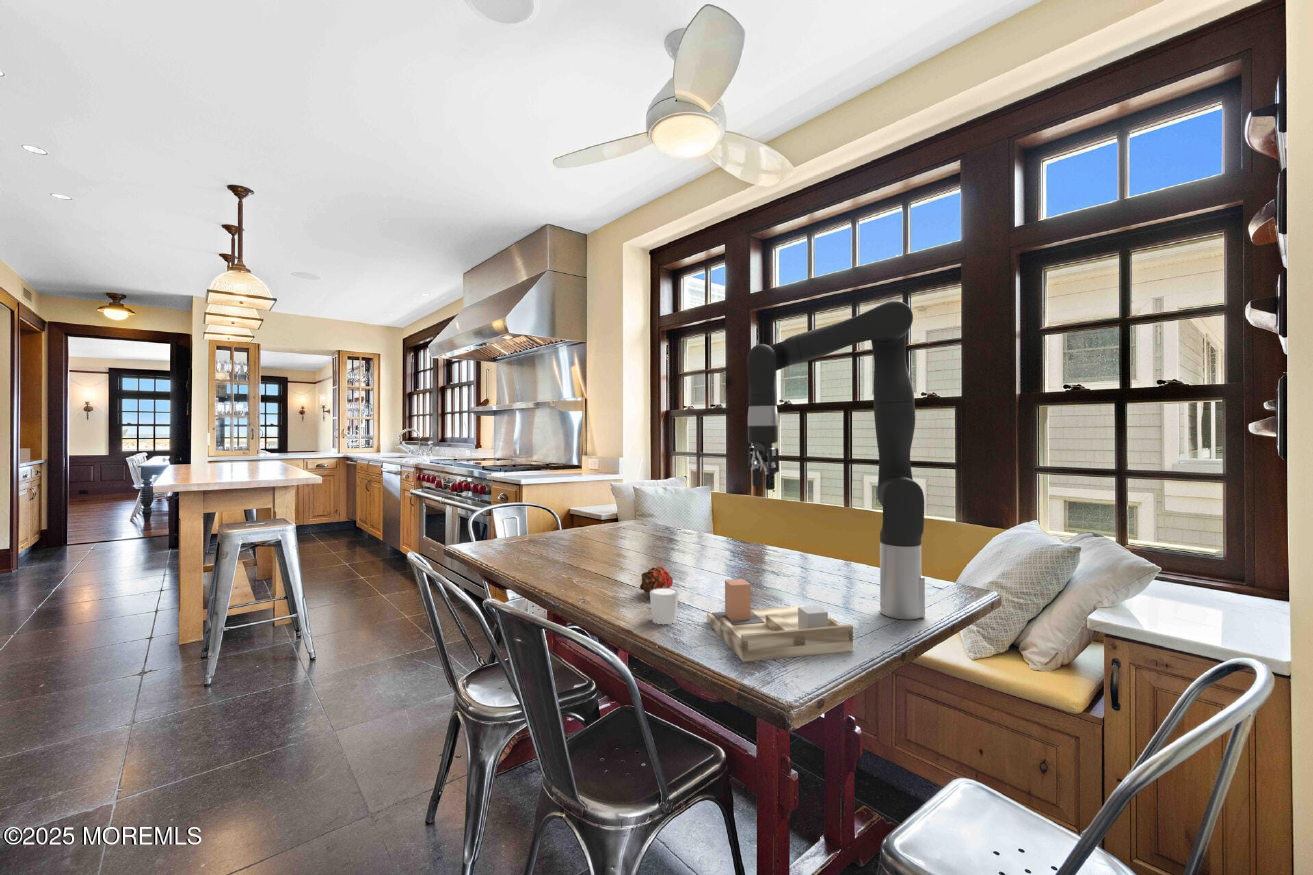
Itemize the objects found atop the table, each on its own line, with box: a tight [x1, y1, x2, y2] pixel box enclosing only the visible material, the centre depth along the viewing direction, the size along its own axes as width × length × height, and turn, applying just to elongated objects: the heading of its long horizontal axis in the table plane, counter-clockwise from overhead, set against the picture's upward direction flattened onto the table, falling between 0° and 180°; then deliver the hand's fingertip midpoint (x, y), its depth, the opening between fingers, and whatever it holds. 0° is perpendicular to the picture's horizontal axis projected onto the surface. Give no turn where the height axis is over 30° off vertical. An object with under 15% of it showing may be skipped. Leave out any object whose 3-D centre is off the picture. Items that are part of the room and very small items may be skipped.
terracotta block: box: [724, 578, 752, 621], centre depth 132 cm, size 4×4×8 cm
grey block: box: [798, 605, 829, 629], centre depth 122 cm, size 4×4×5 cm
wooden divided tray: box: [706, 605, 854, 663], centre depth 126 cm, size 24×24×5 cm
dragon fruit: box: [639, 565, 673, 596], centre depth 158 cm, size 8×8×12 cm
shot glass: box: [649, 587, 680, 626], centre depth 137 cm, size 7×7×7 cm
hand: (763, 487), depth 147 cm, fingers open, 8 cm apart
